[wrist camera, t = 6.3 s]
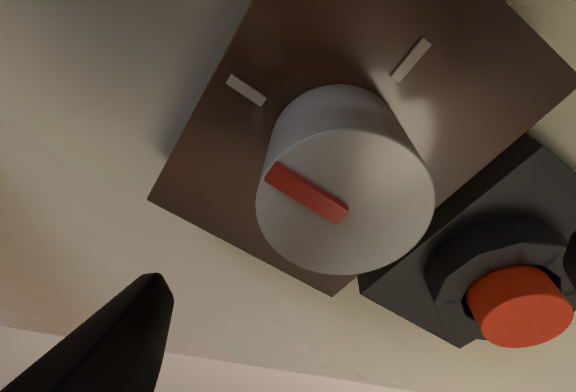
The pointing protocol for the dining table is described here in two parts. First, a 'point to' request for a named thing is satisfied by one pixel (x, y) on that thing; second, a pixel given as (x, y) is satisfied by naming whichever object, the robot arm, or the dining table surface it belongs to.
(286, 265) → the dial panel
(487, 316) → the red button
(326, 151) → the dial
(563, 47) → the dining table surface
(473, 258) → the button box
